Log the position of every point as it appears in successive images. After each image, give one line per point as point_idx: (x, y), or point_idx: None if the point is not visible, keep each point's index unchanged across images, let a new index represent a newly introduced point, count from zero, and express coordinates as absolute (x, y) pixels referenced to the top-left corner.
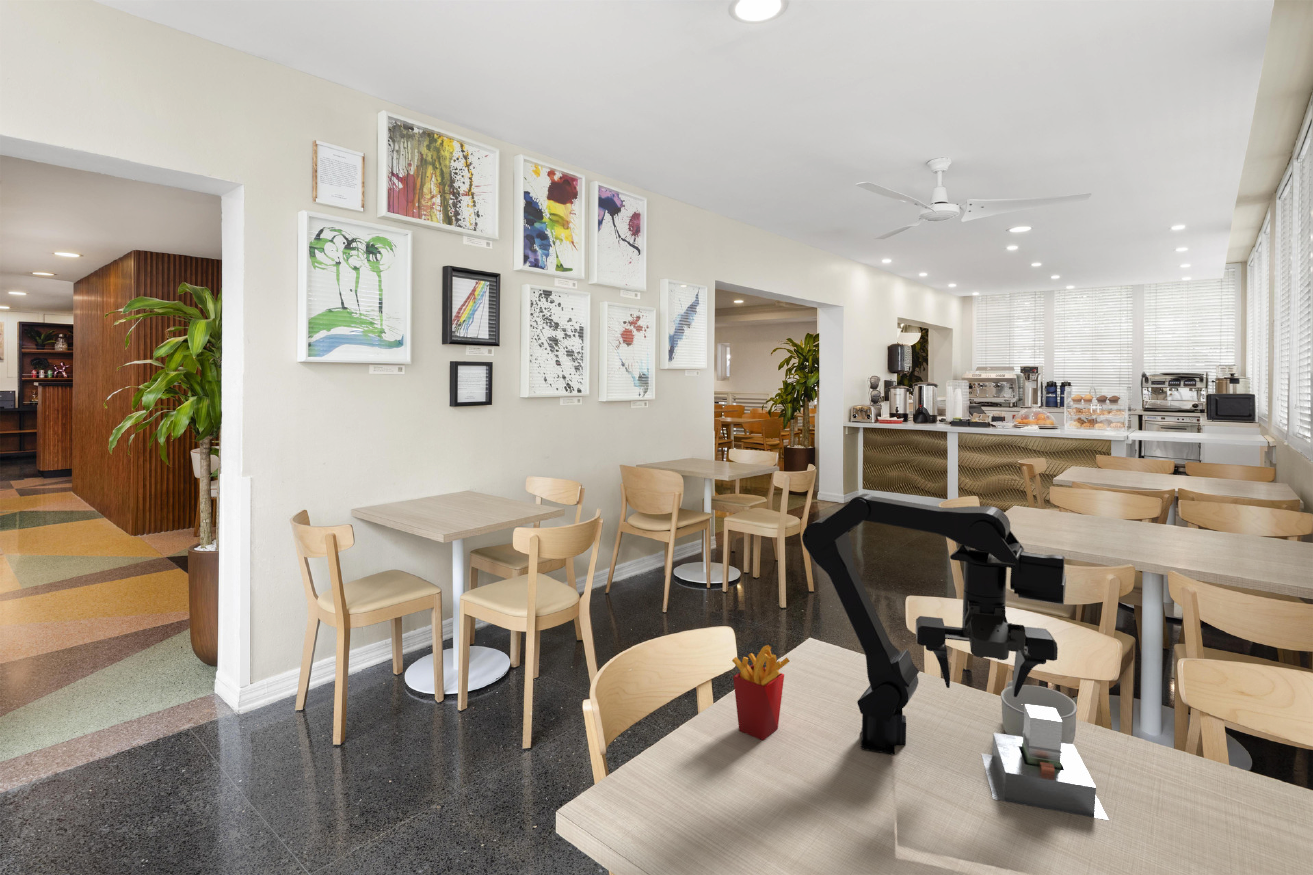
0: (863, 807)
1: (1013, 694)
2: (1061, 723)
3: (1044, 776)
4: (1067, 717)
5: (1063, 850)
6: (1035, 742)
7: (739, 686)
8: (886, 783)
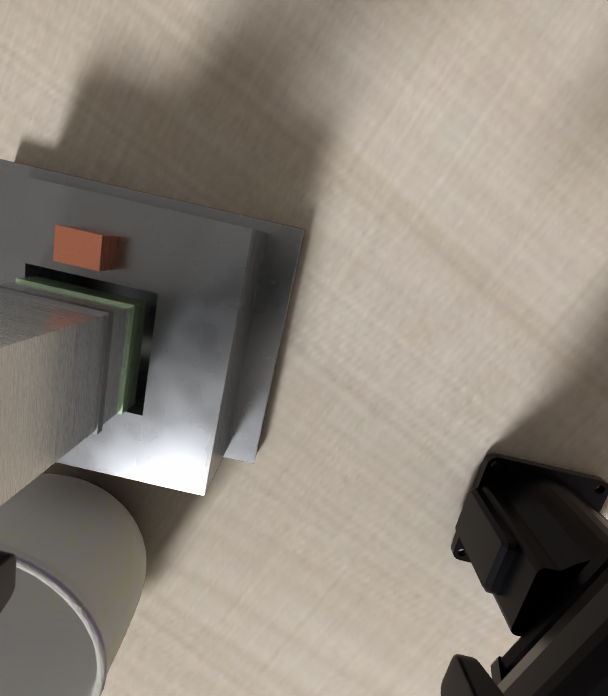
0: None
1: (6, 571)
2: None
3: (112, 213)
4: None
5: (176, 27)
6: (66, 313)
7: None
8: (593, 313)
